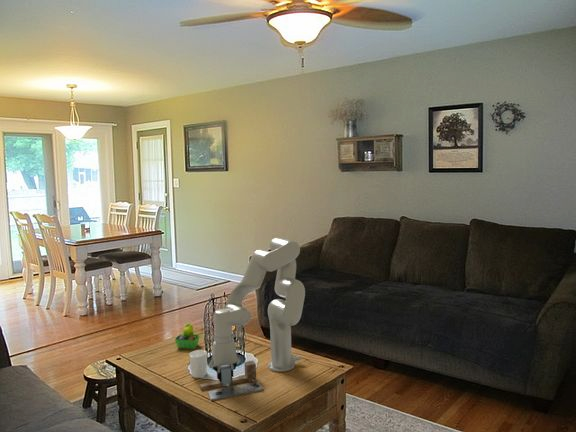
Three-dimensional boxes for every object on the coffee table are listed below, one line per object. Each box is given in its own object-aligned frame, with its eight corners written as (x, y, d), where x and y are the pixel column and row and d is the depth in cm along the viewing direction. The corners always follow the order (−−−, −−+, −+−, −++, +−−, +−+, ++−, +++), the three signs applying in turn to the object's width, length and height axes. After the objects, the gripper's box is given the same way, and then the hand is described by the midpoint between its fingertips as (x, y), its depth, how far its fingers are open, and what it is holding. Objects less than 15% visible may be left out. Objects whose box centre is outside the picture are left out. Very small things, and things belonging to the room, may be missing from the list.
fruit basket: (174, 349, 245) (173, 327, 243) (181, 342, 253) (180, 322, 252) (195, 349, 243) (194, 328, 242) (201, 343, 252) (200, 322, 250)
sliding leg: (228, 380, 207) (228, 364, 207) (232, 387, 201) (232, 370, 200) (219, 382, 206) (219, 365, 205) (223, 388, 200) (222, 372, 199)
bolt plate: (258, 383, 205) (258, 381, 204) (263, 390, 198) (263, 388, 198) (207, 393, 197) (207, 391, 197) (211, 401, 190) (211, 398, 190)
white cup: (204, 379, 210) (203, 357, 209) (187, 377, 211) (186, 356, 210) (210, 371, 217) (209, 350, 216) (194, 370, 219) (193, 349, 218)
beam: (253, 376, 211) (252, 360, 211) (258, 382, 205) (257, 366, 204) (199, 386, 203) (198, 369, 202) (202, 393, 197) (201, 376, 196)
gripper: (240, 332, 209) (241, 372, 211) (202, 338, 203) (204, 379, 205) (245, 338, 202) (246, 379, 204) (205, 344, 196) (207, 386, 198)
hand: (225, 379), depth 204 cm, fingers closed on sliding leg, 4 cm apart
